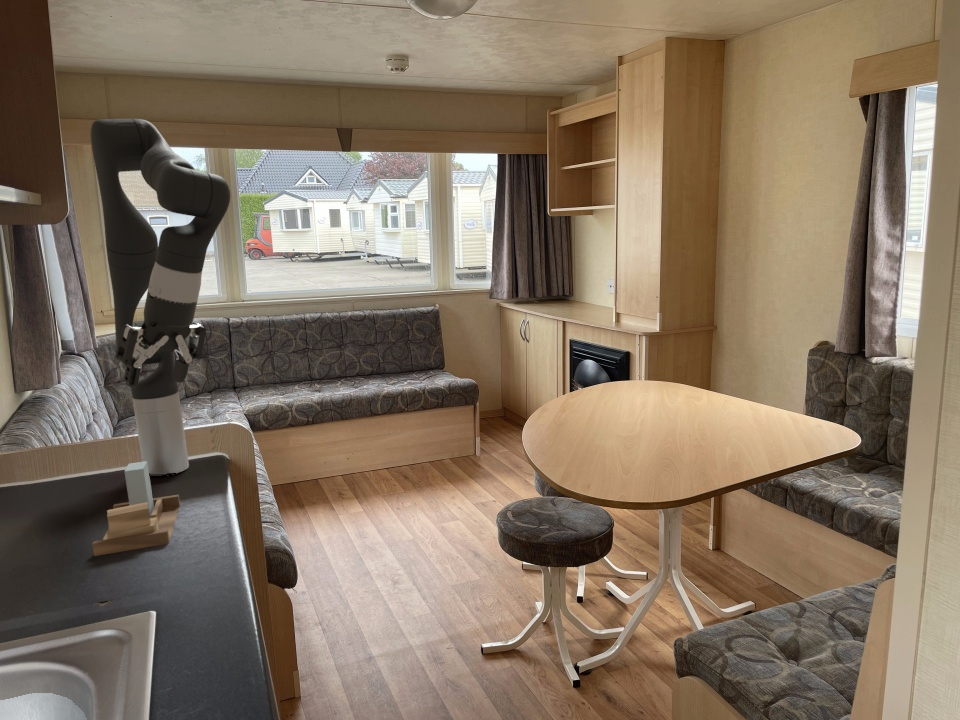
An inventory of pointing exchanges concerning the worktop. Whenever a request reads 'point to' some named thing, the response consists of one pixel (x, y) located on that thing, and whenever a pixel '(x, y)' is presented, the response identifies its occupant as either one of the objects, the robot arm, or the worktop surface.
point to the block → (139, 484)
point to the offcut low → (135, 530)
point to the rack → (166, 519)
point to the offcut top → (128, 517)
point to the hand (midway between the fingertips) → (154, 383)
